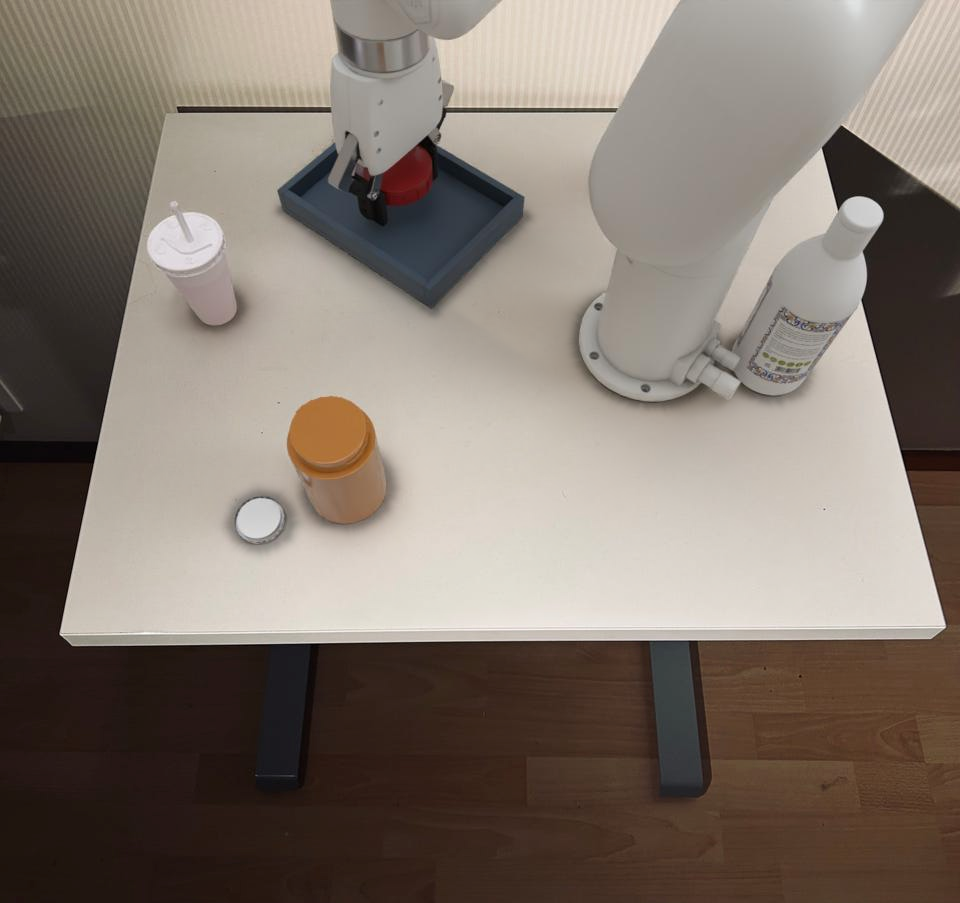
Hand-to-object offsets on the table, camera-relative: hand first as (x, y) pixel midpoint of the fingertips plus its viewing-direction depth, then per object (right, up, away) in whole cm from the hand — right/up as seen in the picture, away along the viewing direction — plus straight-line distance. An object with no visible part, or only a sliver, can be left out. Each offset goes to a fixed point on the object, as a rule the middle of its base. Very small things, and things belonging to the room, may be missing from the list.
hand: (399, 193), depth 79 cm
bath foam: (+34, -18, -5) cm, 39 cm away
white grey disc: (-10, -31, -13) cm, 35 cm away
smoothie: (-17, -12, -3) cm, 21 cm away
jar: (-3, -29, -11) cm, 31 cm away
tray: (0, -1, +2) cm, 3 cm away
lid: (0, +2, -3) cm, 3 cm away
